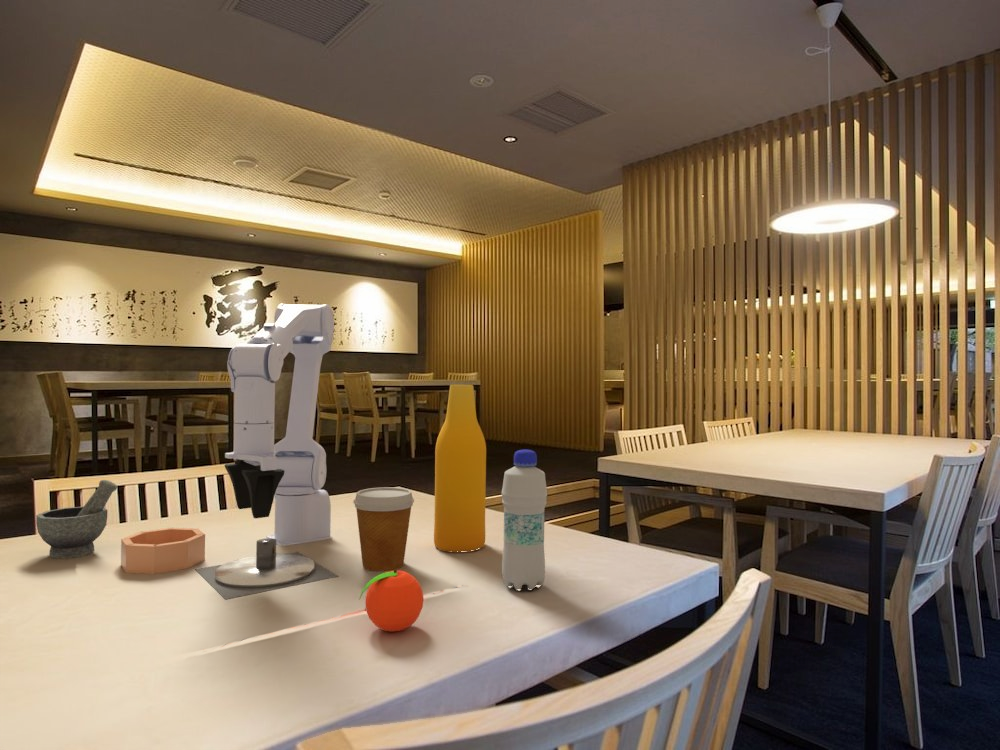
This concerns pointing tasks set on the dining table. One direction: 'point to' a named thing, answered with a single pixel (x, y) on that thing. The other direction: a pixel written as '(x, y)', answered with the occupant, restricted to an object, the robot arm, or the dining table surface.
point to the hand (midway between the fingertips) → (253, 512)
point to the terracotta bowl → (162, 550)
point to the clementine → (393, 600)
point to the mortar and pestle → (76, 524)
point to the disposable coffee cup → (383, 526)
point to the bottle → (524, 522)
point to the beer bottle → (460, 476)
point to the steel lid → (264, 568)
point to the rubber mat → (233, 592)
